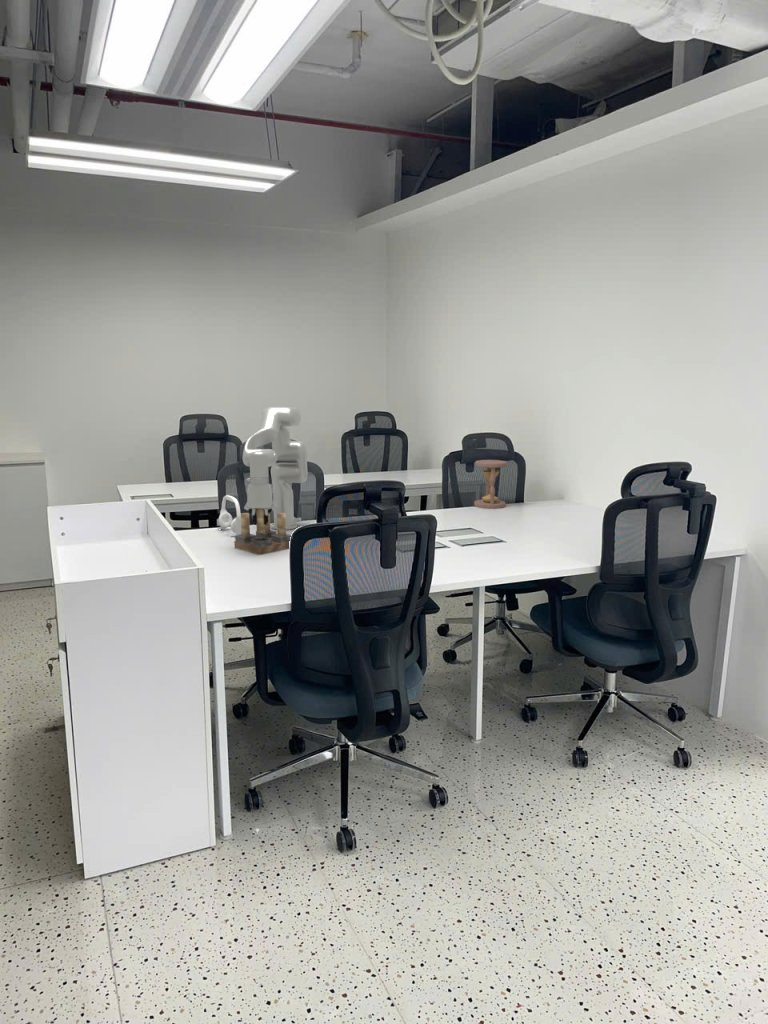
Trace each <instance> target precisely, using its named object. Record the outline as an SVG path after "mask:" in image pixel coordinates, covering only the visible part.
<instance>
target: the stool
mask: <svg viewBox="0 0 768 1024" xmlns="http://www.w3.org/2000/svg"><path fill="white" fill-rule="evenodd" d="M270 514H271V512H270V513H269V514H268V523H267V524H266V525H265V532H257V530H256V531H255V534H253V533H251V532H250V531H251V530H250V529H251V528H250V524H251V522H250V512H242V513H241V534H240V535H236V534H235V535H234V536H235V537H234V538H235V540H234V542H233V543H234V549H237V550H241V551H245V552H248V553H252V554H255V555H259V556H261V555H266V554H270V553H275V552H280V551H284V550H287V549H290V548H289V541H290V537H291V535H292V534H288V533H287V530H286V513H277V530H274V529H271V515H270Z"/></svg>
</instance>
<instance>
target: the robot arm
mask: <svg viewBox="0 0 768 1024" xmlns="http://www.w3.org/2000/svg"><path fill="white" fill-rule="evenodd" d="M261 415H262V416H261V418H260V419H261V420H260V425H259V429H258V430H257V431H256V432H255V433H253V434H251V436H250V437H248V439H247V440H246V442H245V444H244V447H243V451H242V462H243V464H244V465H245V466H246V467H249V477H247V478H246V482H248V483H249V484H248V486H247V493H246V494H247V501H246V503H245V505H244V507H243V509H244V510H246V511H247V512H248V513H249V514H251V515H252V523H254V526H256V509H264V510H265V516H264V525H266V524H267V523H268V514H269V513H270V514H271V513H272V512H273V524H270V529H271V530H275V531H278V530H277V513H286V531H289V530H293V529H297V528H298V524H297V522H302V517H295V516H294V515H295V514H294V513H295V512H294V511H295V510H294V490H293V489H292V487H291V485H290V484H291V483H292V484H294V483H295V484H297V483H298V484H303V483H305V482H307V480H308V475H309V474H308V457H307V456H308V454H307V452H308V451H307V447H306V443H304V442H303V441H300V440H291V438H290V437H291V435H290V433H291V432H290V429H289V428H288V427H298V426H299V425H300V422H301V412H300V410H299V409H298V407H291V406H269V407H266V408H264V409H263V411H262V414H261ZM270 443H271V447H272V448H259V447H262V446H265V445H268V444H270ZM277 461H281V462H277ZM283 461H284V462H283ZM287 461H288V462H287ZM270 467H271V468H270ZM269 468H270V475H271V476H270V477H271V481H272V486H271V484H270V482H269V481H270V480H269Z"/></svg>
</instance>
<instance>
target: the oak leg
mask: <svg viewBox="0 0 768 1024" xmlns="http://www.w3.org/2000/svg"><path fill="white" fill-rule="evenodd" d="M264 516H265V510H264V509H256V525H255V526H256V531H257V532H265V525H264Z"/></svg>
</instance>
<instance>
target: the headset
mask: <svg viewBox="0 0 768 1024" xmlns="http://www.w3.org/2000/svg"><path fill="white" fill-rule="evenodd" d="M221 501H222V502H221V510H219V513H220V514H219V516H218V524H219V528H217V529H216V531H217V530H219V529H223V530H225V529H227V528H229V527H230V529H231V531H232V533H234V534H235V535H240V534H241V508H240V503H239V501H238V499H237V498H235V497H234V496H232V495H229V494H226V495H224V496H223V498H222V500H221ZM227 501H229V502H232V503H234V505H235V511H236V517H235V518H234V519H233V517H232V516H233V515H231V513H229V512H228V511H227V509H226V504H227ZM219 531H220V530H219Z"/></svg>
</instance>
